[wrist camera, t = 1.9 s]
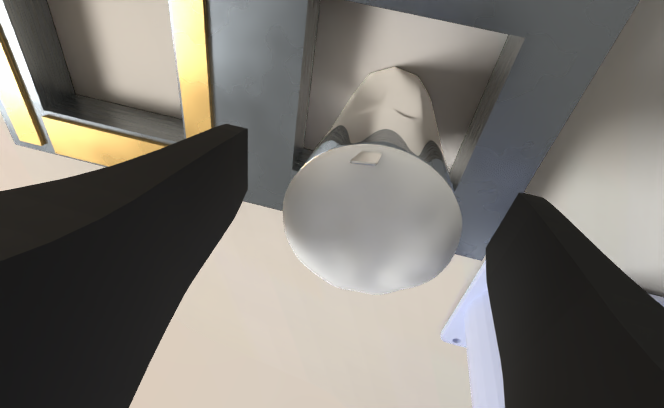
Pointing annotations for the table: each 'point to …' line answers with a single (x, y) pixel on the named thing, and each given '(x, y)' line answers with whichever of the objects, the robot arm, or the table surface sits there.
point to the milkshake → (376, 192)
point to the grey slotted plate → (294, 89)
